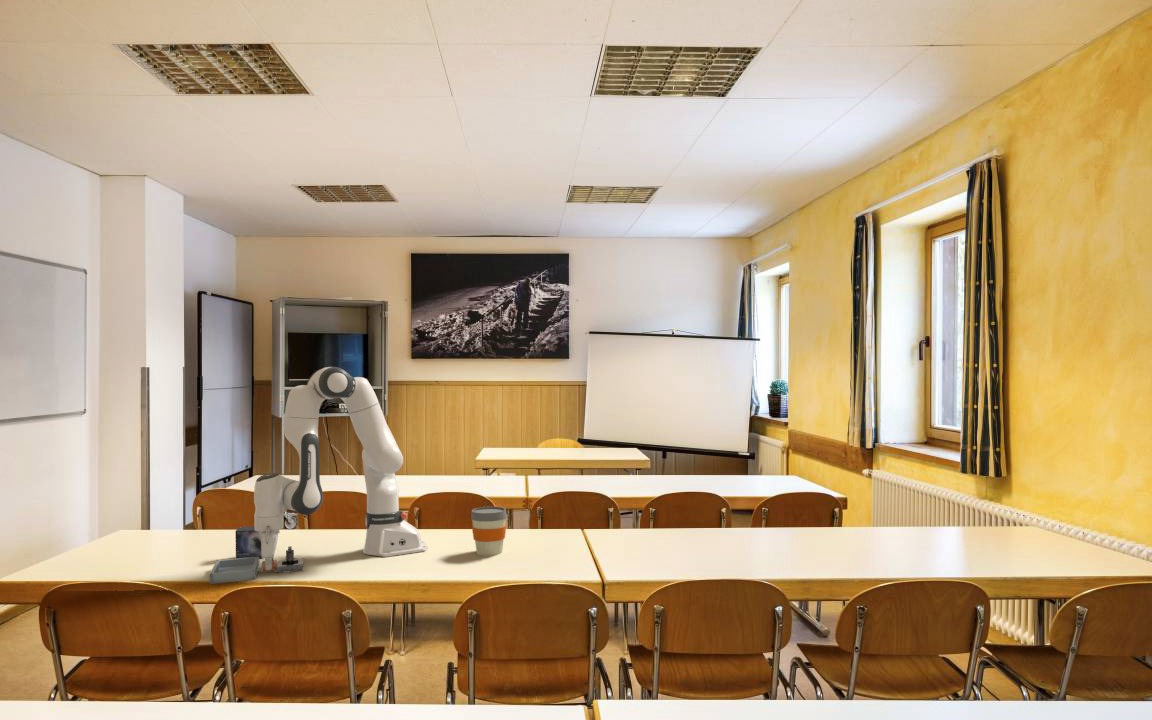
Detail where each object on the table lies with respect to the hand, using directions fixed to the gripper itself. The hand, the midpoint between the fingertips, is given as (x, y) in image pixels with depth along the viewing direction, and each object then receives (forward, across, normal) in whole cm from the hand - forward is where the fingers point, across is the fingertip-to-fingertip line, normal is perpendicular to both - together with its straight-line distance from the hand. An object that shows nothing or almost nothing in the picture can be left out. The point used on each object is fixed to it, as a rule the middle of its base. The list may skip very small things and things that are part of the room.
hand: (269, 565), depth 246 cm
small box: (+2, +21, +7) cm, 22 cm away
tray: (+2, 0, +10) cm, 10 cm away
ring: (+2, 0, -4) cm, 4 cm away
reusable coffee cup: (+2, -5, -72) cm, 72 cm away
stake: (+2, 0, -6) cm, 6 cm away
